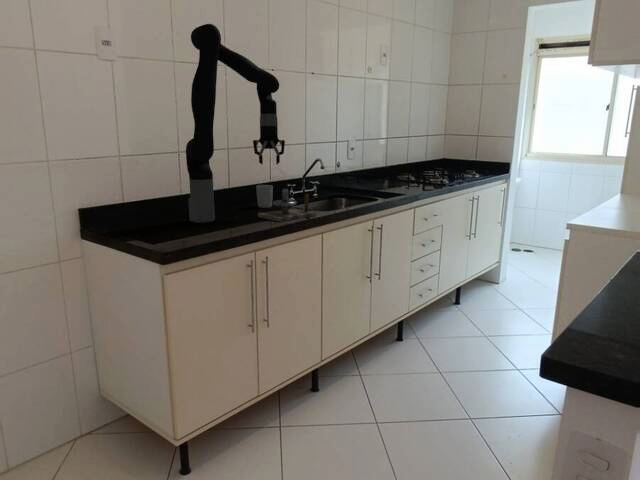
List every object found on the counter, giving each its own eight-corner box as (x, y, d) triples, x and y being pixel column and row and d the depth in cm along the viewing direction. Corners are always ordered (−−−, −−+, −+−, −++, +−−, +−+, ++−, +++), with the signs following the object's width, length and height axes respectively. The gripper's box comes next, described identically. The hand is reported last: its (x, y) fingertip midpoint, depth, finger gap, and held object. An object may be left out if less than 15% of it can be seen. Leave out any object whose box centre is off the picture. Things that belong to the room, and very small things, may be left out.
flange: (296, 206, 205) (296, 194, 204) (272, 206, 205) (272, 194, 204) (296, 199, 223) (296, 188, 222) (274, 199, 222) (274, 188, 221)
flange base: (279, 221, 201) (279, 199, 198) (257, 216, 211) (257, 196, 209) (316, 215, 214) (316, 195, 212) (294, 211, 224) (293, 191, 222)
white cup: (261, 208, 232) (261, 187, 230) (253, 206, 239) (253, 185, 236) (276, 206, 237) (275, 186, 235) (268, 204, 243) (267, 184, 241)
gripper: (251, 124, 208) (252, 165, 212) (285, 124, 209) (285, 165, 213) (252, 124, 216) (253, 163, 219) (285, 124, 216) (286, 163, 220)
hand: (269, 164), depth 216 cm, fingers open, 6 cm apart
